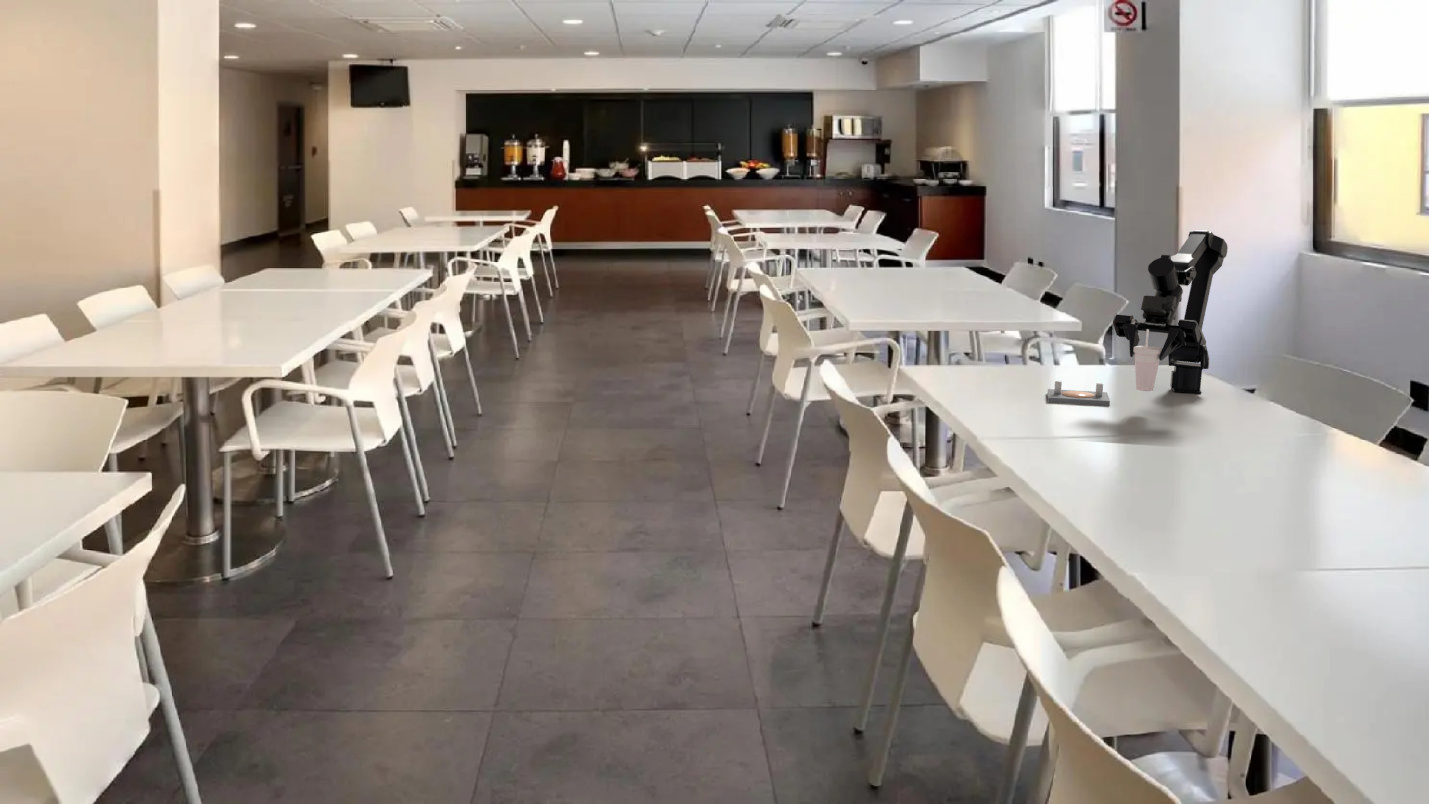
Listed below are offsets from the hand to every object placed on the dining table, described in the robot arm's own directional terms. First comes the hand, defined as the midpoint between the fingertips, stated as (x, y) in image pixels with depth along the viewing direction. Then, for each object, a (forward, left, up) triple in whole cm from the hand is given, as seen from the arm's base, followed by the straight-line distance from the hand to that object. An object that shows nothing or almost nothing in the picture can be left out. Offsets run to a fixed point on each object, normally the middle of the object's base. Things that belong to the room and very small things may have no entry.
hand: (1145, 357), depth 278 cm
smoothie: (-1, -1, -8) cm, 8 cm away
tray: (+14, -12, -13) cm, 22 cm away
